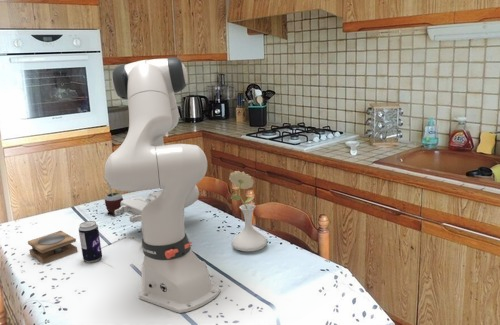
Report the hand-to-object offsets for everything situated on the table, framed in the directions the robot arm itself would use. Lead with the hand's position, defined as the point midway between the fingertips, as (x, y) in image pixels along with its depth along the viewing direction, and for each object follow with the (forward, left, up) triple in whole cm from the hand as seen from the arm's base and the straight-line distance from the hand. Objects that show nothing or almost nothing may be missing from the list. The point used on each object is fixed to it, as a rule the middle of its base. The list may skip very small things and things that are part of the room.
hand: (123, 216), depth 148 cm
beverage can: (0, +12, -11) cm, 16 cm away
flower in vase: (-32, -25, -11) cm, 42 cm away
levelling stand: (+15, +18, -10) cm, 26 cm away
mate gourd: (+32, -14, -11) cm, 36 cm away
